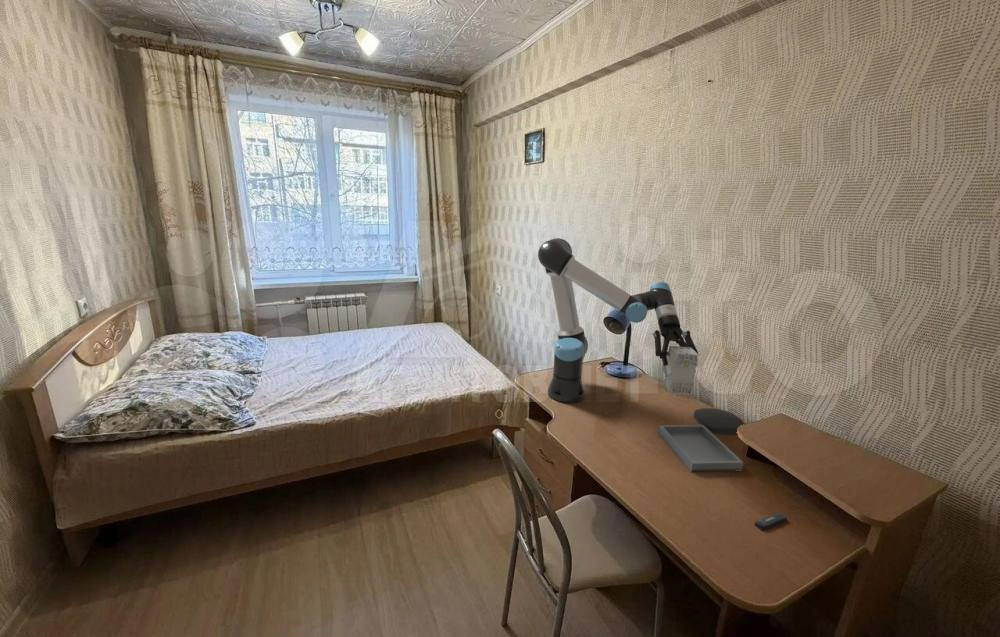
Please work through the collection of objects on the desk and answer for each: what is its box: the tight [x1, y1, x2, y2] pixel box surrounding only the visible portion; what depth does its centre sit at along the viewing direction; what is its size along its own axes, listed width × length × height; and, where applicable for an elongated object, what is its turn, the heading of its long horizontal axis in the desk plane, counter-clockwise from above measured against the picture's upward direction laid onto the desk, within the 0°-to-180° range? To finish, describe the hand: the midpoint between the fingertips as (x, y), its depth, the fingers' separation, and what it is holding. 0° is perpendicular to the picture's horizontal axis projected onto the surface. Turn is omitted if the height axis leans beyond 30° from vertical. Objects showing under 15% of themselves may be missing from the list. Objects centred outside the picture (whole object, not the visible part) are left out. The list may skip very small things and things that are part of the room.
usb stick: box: [754, 512, 788, 531], centre depth 103 cm, size 10×3×2 cm, turn 113°
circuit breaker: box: [661, 345, 700, 395], centre depth 149 cm, size 8×14×15 cm, turn 174°
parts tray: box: [658, 424, 744, 473], centre depth 133 cm, size 22×16×3 cm
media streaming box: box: [693, 407, 745, 435], centre depth 150 cm, size 15×15×3 cm
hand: (681, 373), depth 146 cm, fingers closed on circuit breaker, 8 cm apart
